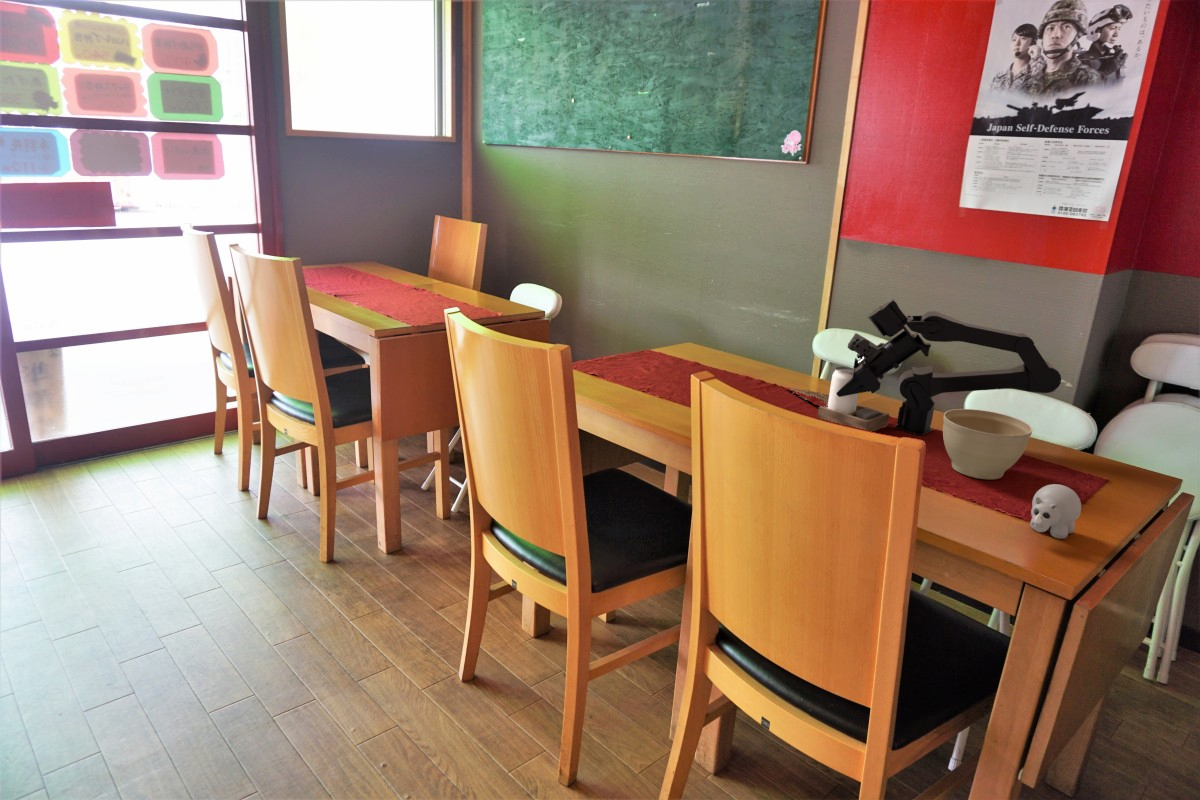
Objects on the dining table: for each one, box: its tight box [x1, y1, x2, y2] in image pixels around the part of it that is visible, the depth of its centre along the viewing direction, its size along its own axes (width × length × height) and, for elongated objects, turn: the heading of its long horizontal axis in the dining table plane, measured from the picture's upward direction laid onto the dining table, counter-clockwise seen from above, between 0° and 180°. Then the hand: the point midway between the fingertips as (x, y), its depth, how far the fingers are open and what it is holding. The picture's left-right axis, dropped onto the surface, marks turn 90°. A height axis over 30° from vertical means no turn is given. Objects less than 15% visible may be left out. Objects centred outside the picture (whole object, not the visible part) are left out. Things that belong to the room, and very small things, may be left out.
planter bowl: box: [942, 408, 1033, 480], centre depth 158 cm, size 16×16×11 cm
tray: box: [816, 403, 890, 432], centre depth 184 cm, size 12×10×3 cm
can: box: [827, 366, 860, 414], centre depth 185 cm, size 6×6×12 cm
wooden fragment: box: [790, 388, 829, 408], centre depth 199 cm, size 26×11×1 cm, turn 31°
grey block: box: [856, 408, 879, 420], centre depth 182 cm, size 4×7×4 cm, turn 133°
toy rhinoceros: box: [1029, 483, 1082, 540], centre depth 132 cm, size 7×12×8 cm, turn 130°
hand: (838, 391), depth 185 cm, fingers closed on can, 6 cm apart
